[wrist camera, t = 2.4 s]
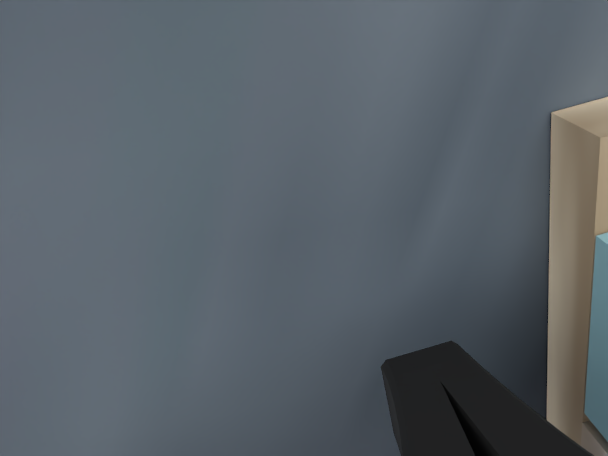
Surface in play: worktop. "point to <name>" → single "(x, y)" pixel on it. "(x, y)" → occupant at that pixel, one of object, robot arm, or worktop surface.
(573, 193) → the board
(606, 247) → the stub
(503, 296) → the worktop surface
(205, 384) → the worktop surface
